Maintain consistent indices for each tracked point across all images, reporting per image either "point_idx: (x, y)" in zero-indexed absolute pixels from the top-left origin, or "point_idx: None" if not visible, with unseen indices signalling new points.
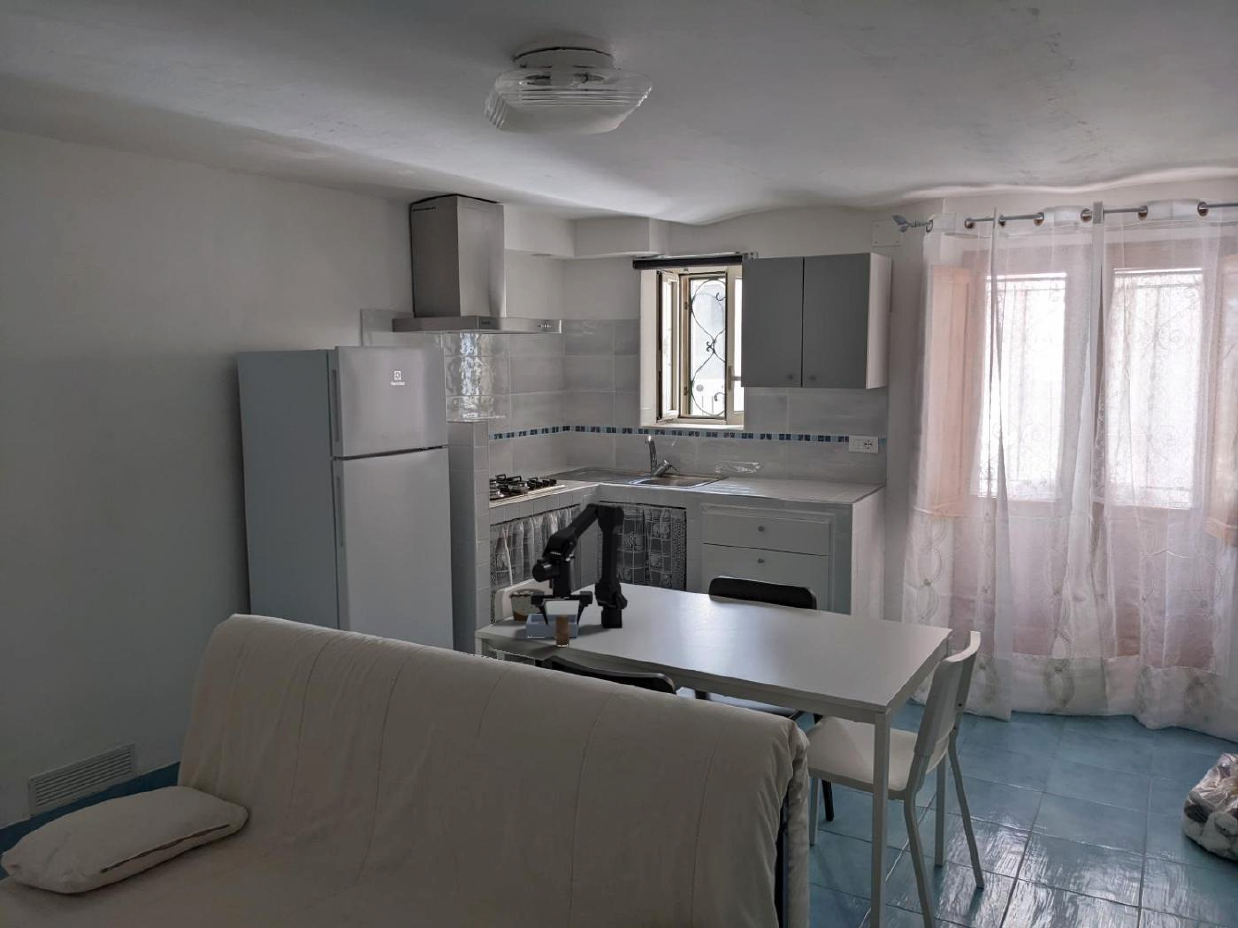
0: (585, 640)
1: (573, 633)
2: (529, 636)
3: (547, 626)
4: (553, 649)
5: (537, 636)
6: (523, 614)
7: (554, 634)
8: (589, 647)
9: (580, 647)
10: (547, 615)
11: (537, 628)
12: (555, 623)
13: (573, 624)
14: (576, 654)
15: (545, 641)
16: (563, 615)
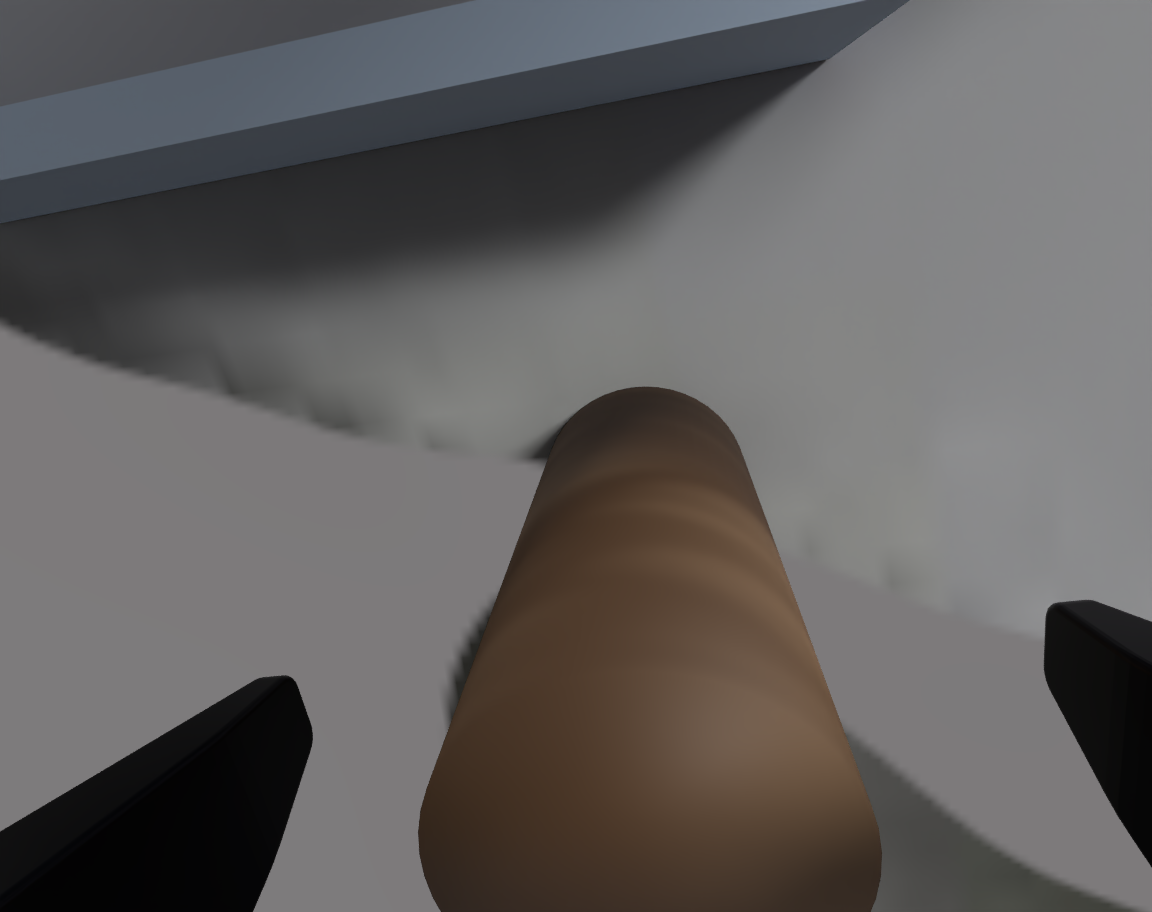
0: (1007, 188)
1: (777, 54)
2: (5, 219)
3: (184, 154)
4: None
5: (127, 194)
6: None
7: (398, 133)
8: (1083, 533)
9: (935, 546)
10: (130, 871)
11: (15, 197)
12: (318, 36)
13: (825, 8)
14: (899, 799)
15: (333, 339)
16: (654, 722)
